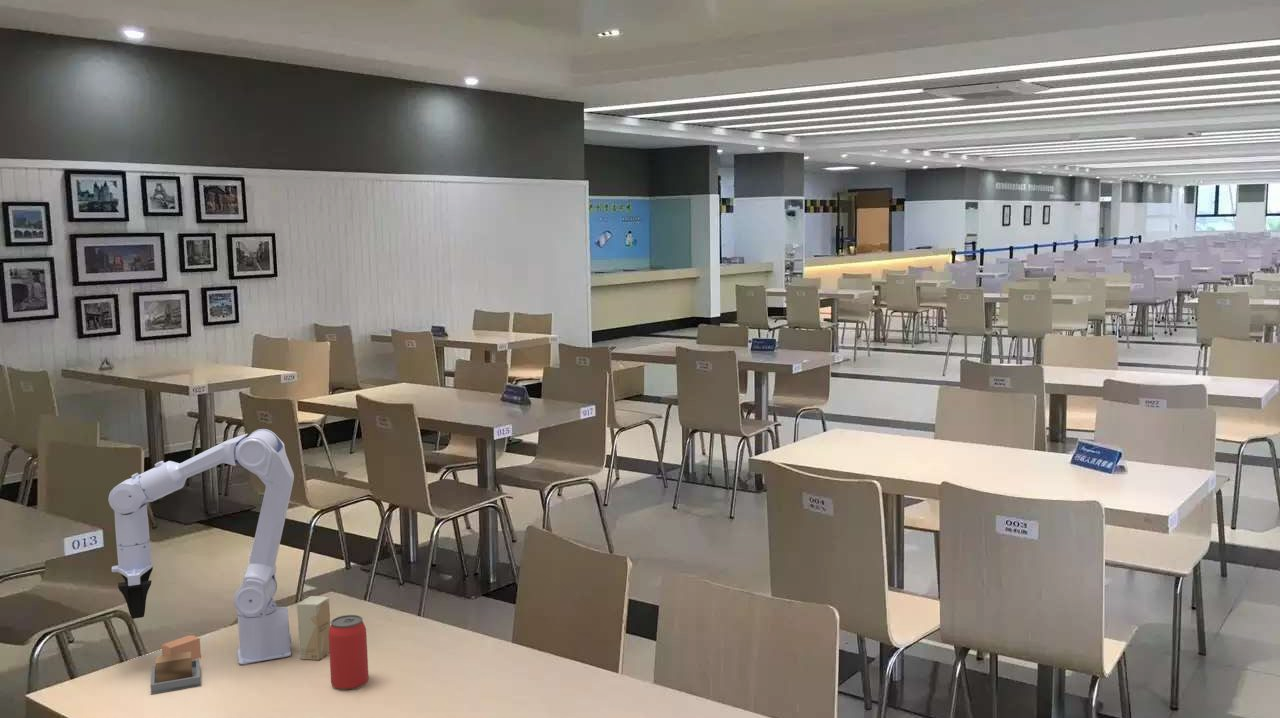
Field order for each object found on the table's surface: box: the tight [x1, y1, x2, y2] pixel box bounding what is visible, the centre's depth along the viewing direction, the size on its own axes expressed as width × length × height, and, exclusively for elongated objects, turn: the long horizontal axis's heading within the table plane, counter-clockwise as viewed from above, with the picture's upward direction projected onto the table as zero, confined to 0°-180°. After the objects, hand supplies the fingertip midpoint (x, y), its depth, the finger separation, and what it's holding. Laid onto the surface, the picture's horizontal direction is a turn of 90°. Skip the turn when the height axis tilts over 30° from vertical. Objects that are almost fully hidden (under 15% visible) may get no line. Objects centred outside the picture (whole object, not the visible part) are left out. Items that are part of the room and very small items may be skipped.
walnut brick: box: [154, 652, 193, 683], centre depth 191 cm, size 6×3×4 cm, turn 114°
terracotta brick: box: [160, 634, 202, 660], centre depth 201 cm, size 6×3×4 cm, turn 144°
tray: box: [150, 658, 201, 695], centre depth 191 cm, size 8×9×2 cm
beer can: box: [328, 614, 370, 691], centre depth 188 cm, size 7×7×12 cm
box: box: [296, 595, 331, 661], centre depth 202 cm, size 5×4×11 cm
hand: (138, 611), depth 199 cm, fingers open, 7 cm apart
